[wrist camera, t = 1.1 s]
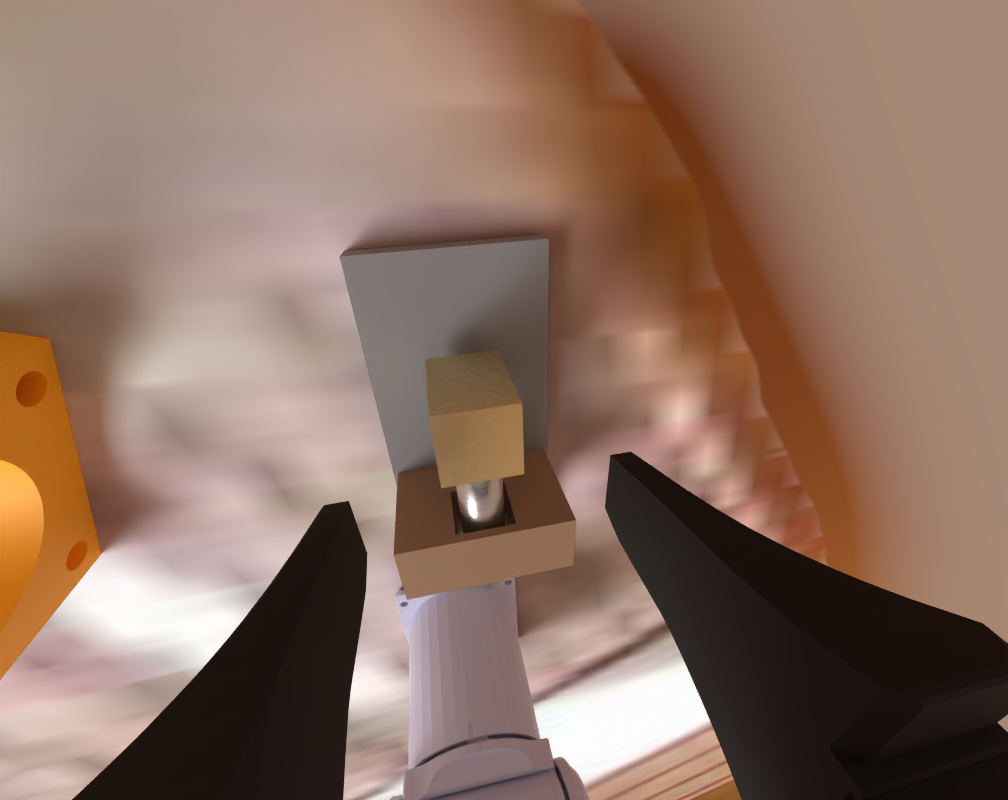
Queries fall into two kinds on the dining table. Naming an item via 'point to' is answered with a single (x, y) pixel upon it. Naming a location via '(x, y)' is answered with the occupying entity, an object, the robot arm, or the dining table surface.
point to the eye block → (404, 404)
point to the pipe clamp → (37, 495)
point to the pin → (475, 434)
